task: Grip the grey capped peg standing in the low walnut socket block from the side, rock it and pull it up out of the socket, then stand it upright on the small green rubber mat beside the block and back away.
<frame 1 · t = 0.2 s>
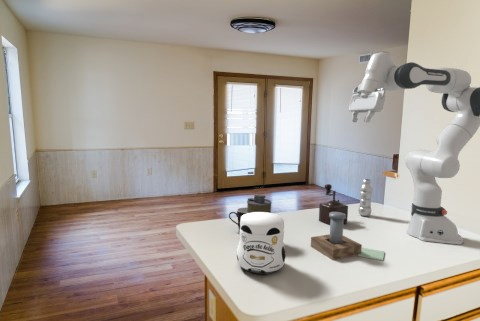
hand: (359, 121, 142), 52 cm above the kitchen counter, tool tilted 15°, fingers open, 8 cm apart
socket block: (335, 250, 138), on the kitchen counter
canister: (257, 240, 147), on the kitchen counter
plastic bottle: (364, 215, 187), on the kitchen counter
brown coffee grinder: (329, 221, 176), on the kitchen counter
coffee mug: (242, 230, 159), on the kitchen counter
dulce de leche jar: (260, 267, 122), on the kitchen counter
grey capped peg: (336, 232, 137), in the socket block
mat: (371, 254, 135), on the kitchen counter
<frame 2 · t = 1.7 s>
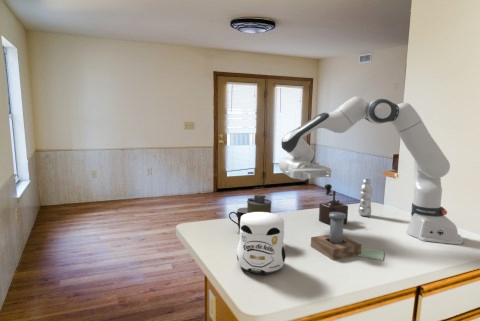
hand: (320, 176, 145), 28 cm above the kitchen counter, tool horizontal, fingers open, 8 cm apart
nothing on the kitchen counter moved.
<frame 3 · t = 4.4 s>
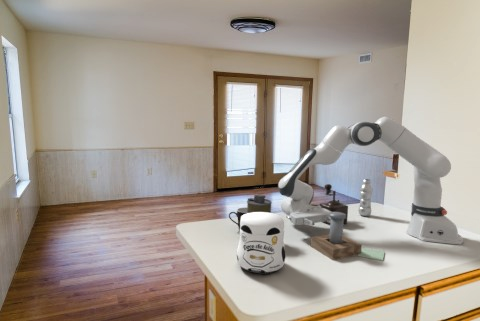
hand: (322, 222, 145), 9 cm above the kitchen counter, tool horizontal, fingers open, 8 cm apart
nothing on the kitchen counter moved.
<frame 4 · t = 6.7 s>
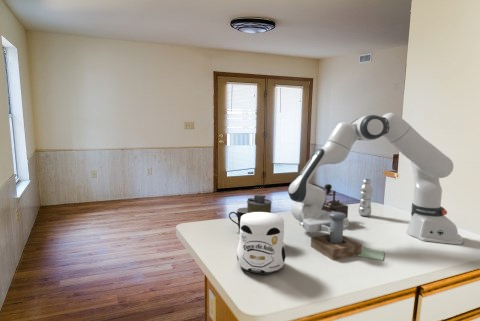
hand: (338, 229, 136), 9 cm above the kitchen counter, tool horizontal, fingers closed on grey capped peg, 5 cm apart
grey capped peg: (336, 232, 137), in the socket block, touching gripper
everything else where it was.
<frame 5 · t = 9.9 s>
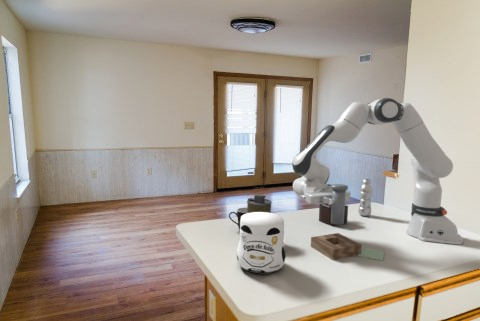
hand: (339, 201, 134), 21 cm above the kitchen counter, tool horizontal, fingers closed on grey capped peg, 5 cm apart
grey capped peg: (338, 204, 135), point 19 cm above the kitchen counter, touching gripper
everything else where it was.
when the fingers open (11 cm above the kitchen counter, at t = 13.3 s): grey capped peg drops 1 cm, resting on mat.
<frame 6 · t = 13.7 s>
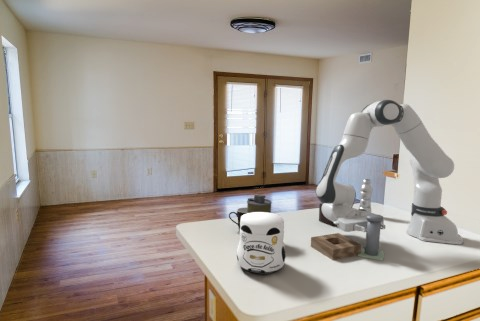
hand: (375, 228, 132), 11 cm above the kitchen counter, tool horizontal, fingers open, 8 cm apart
grey capped peg: (372, 234, 134), on the mat
everything else where it was.
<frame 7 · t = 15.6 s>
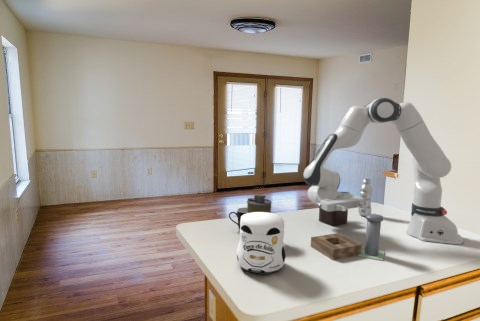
hand: (354, 208, 143), 16 cm above the kitchen counter, tool horizontal, fingers open, 8 cm apart
nothing on the kitchen counter moved.
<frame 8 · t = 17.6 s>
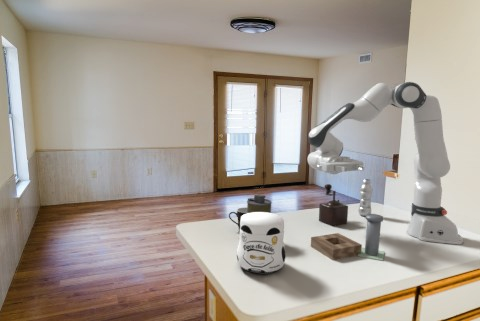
hand: (354, 169, 143), 32 cm above the kitchen counter, tool horizontal, fingers open, 8 cm apart
nothing on the kitchen counter moved.
at the end: grey capped peg inside the target area on the mat (0.0 cm from its centre), point 8.0 cm above the mat's base; grey capped peg tilted 1°; the gripper is holding nothing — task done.
